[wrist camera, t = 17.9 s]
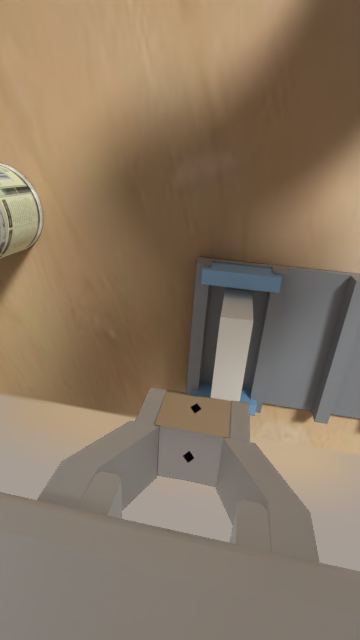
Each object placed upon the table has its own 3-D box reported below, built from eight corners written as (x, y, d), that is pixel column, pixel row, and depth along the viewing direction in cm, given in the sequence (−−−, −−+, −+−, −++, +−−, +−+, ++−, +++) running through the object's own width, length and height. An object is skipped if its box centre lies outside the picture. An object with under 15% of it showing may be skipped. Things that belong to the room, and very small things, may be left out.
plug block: (225, 288, 38) (220, 316, 31) (252, 291, 37) (253, 321, 30) (214, 376, 43) (207, 418, 36) (237, 379, 42) (236, 423, 35)
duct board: (198, 256, 38) (192, 266, 34) (447, 282, 34) (471, 296, 31) (187, 386, 46) (182, 405, 42) (390, 418, 42) (403, 442, 38)
